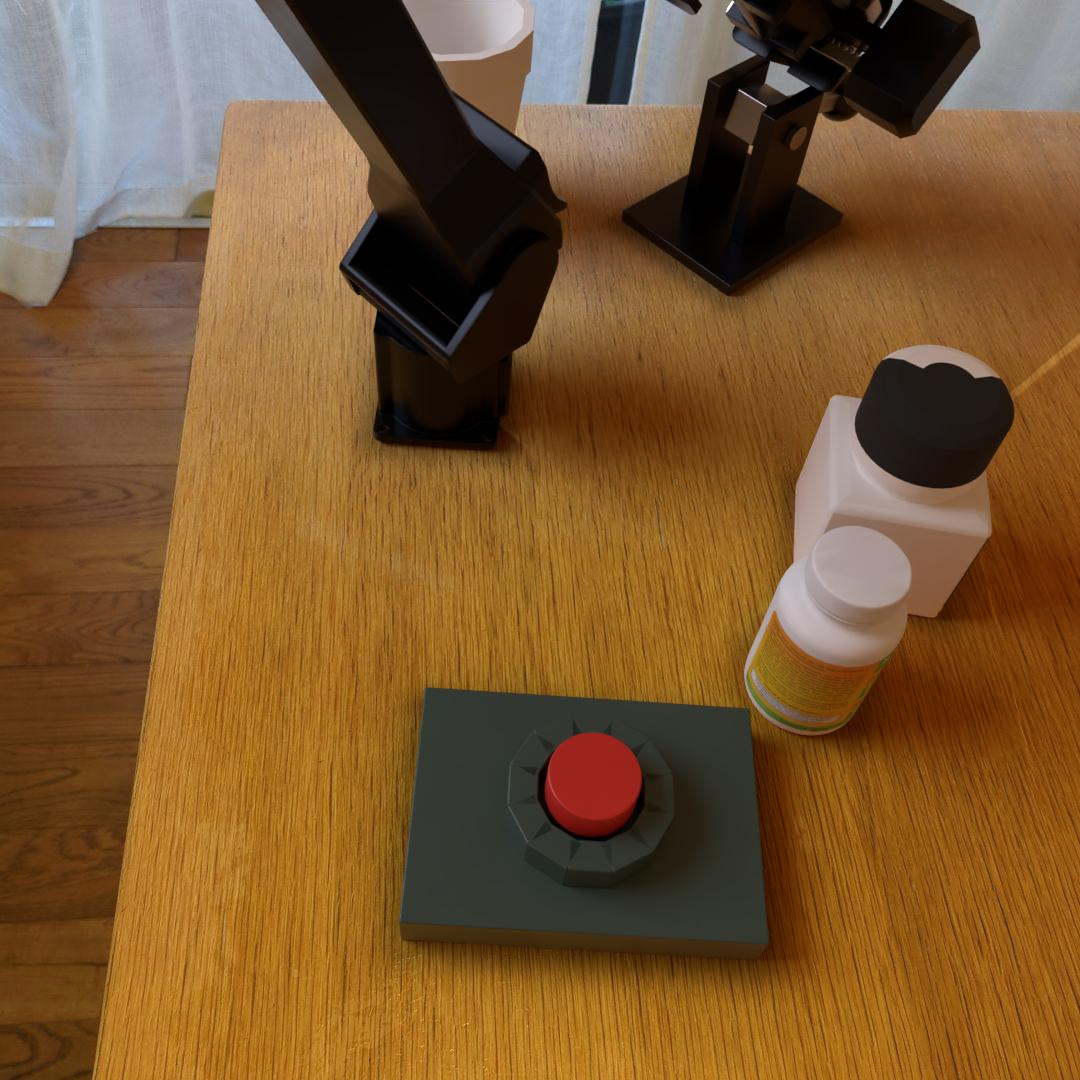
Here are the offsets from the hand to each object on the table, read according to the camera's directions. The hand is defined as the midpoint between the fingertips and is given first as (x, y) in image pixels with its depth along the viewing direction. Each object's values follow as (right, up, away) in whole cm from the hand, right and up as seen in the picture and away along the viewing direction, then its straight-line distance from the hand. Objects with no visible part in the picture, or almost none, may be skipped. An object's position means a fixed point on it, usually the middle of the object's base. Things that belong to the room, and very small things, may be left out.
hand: (838, 71), depth 68 cm
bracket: (-6, -9, +3) cm, 11 cm away
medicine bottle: (-2, -29, -11) cm, 31 cm away
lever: (-3, -3, +1) cm, 4 cm away
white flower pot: (-24, -8, +2) cm, 25 cm away
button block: (-16, -40, -21) cm, 48 cm away
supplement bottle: (-6, -35, -16) cm, 39 cm away
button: (-16, -38, -24) cm, 48 cm away
